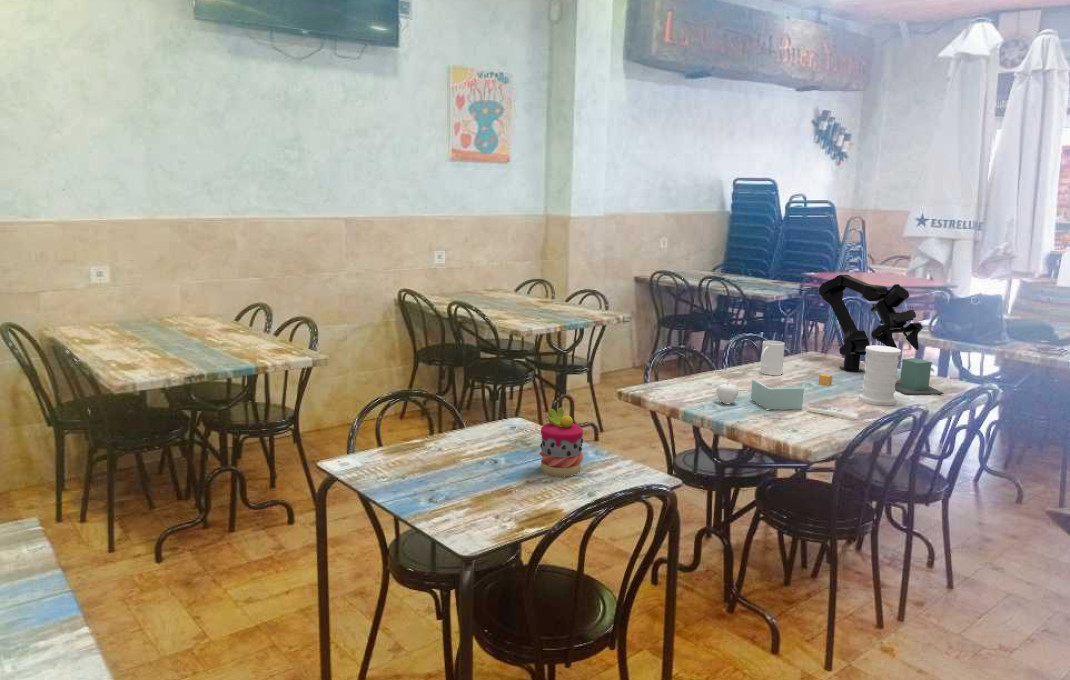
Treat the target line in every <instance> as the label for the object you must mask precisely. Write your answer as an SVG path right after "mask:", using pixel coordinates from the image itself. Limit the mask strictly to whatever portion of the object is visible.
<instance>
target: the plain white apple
mask: <svg viewBox="0 0 1070 680" xmlns="http://www.w3.org/2000/svg"><path fill="white" fill-rule="evenodd" d="M730 381H731V379H728V381H727V383H723V384H719V385H718V386H717V387H716V391H715V392H716V396H717V399H718V401H719V402H720V401H721V402H724V403H732V404H733V403H734V402H735V401H736V399H737V397H738V395H739V389H738V387H737V385H735V384H733V383H730ZM721 402H720V403H721Z"/></svg>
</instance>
